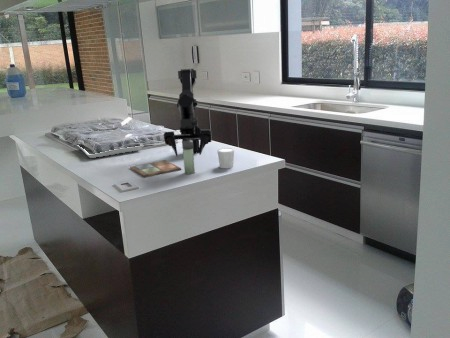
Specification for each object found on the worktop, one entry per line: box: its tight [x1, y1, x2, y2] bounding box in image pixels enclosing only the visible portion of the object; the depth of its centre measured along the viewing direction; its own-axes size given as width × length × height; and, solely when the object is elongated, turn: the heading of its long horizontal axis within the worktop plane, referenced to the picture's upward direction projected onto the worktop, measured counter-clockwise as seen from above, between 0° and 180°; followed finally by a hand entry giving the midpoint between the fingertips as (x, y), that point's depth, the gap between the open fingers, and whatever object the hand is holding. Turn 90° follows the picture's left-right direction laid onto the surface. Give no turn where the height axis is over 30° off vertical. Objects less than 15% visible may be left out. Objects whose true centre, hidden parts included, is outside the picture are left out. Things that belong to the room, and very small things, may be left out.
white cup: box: [217, 147, 235, 169], centre depth 177 cm, size 7×7×7 cm
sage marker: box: [181, 140, 196, 175], centre depth 170 cm, size 4×4×13 cm
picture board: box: [129, 159, 182, 178], centre depth 179 cm, size 16×16×1 cm
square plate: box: [76, 143, 145, 159], centre depth 215 cm, size 27×27×4 cm
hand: (188, 155), depth 169 cm, fingers open, 9 cm apart
